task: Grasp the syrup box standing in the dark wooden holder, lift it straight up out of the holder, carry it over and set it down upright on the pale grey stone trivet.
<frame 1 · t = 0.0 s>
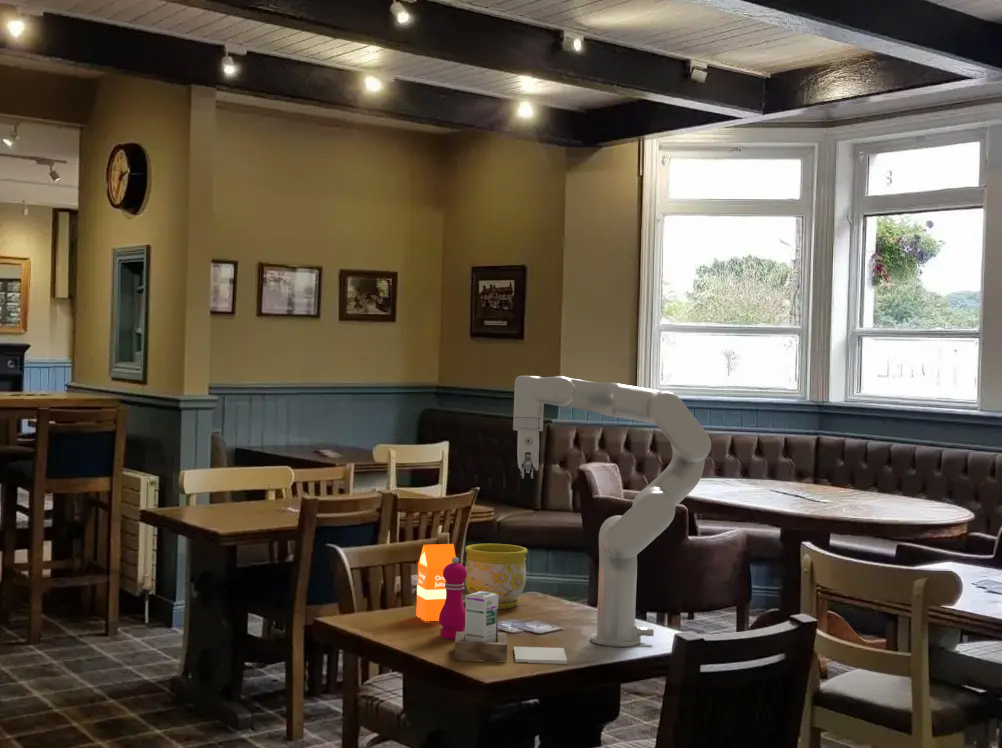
hand: (525, 492, 283), 37 cm above the table, tool pointing down, fingers open, 9 cm apart
flowerpot: (494, 605, 325), on the table
syrup box: (480, 655, 265), resting in holder
trivet: (539, 656, 265), on the table
holder: (480, 654, 265), on the table
pepper mill: (452, 637, 283), on the table
orange juice: (435, 619, 303), on the table
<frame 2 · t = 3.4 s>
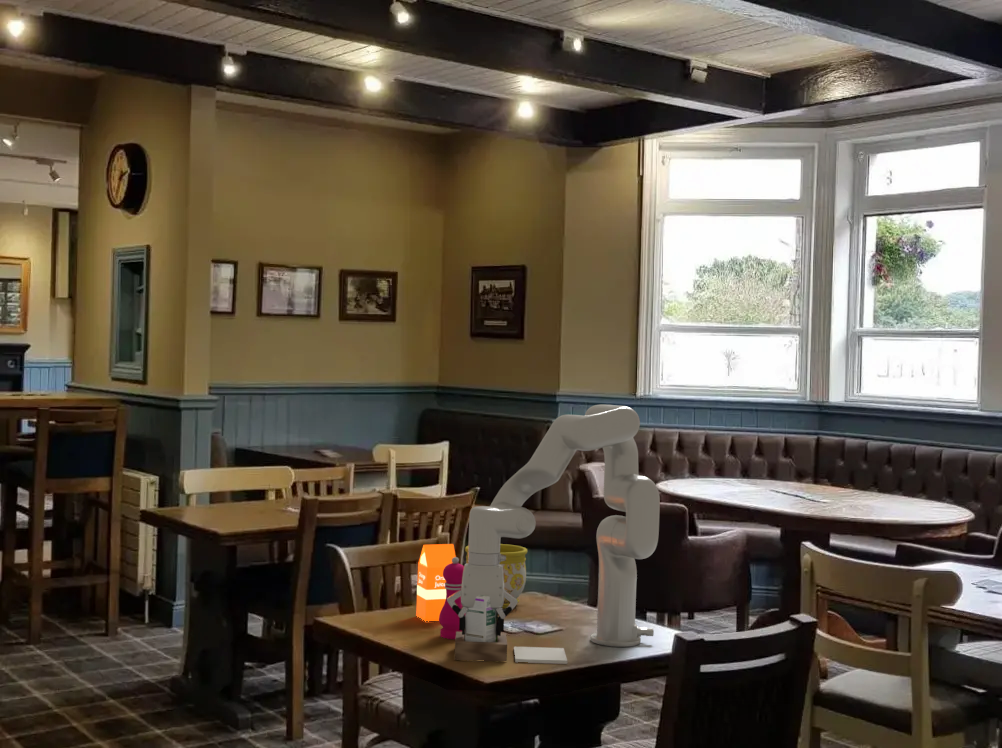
hand: (481, 633, 265), 5 cm above the table, tool pointing down, fingers closed on syrup box, 7 cm apart
syrup box: (480, 655, 265), resting in holder, touching gripper
everything else where it was.
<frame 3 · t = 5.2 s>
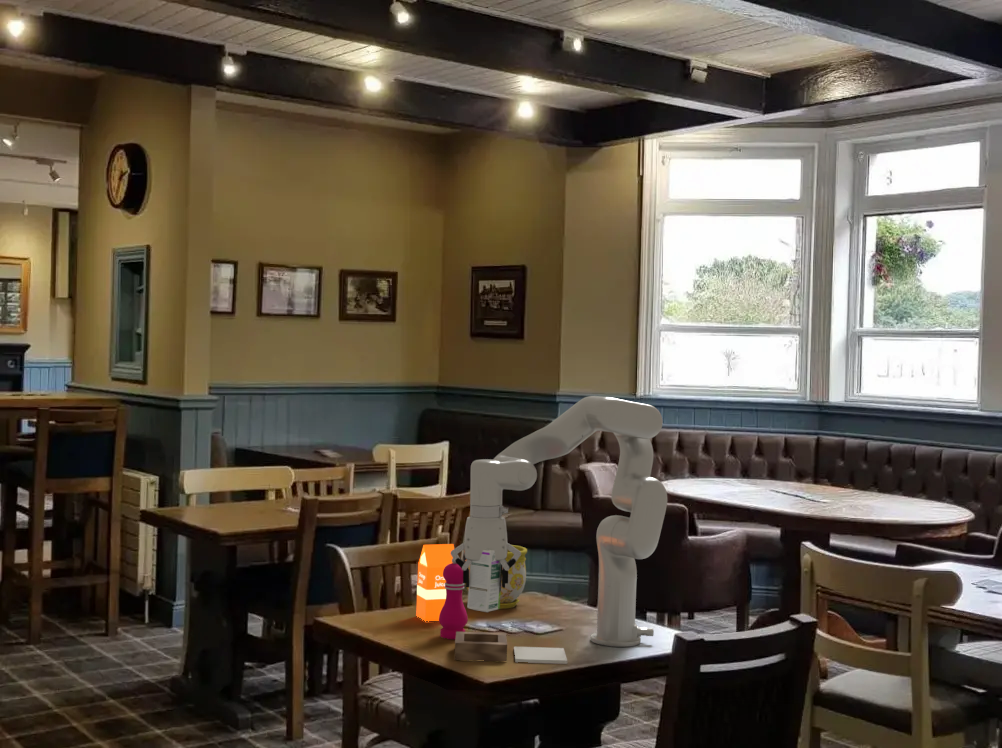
hand: (485, 586, 265), 16 cm above the table, tool pointing down, fingers closed on syrup box, 8 cm apart
syrup box: (482, 609, 265), point 11 cm above the table, touching gripper
everything else where it was.
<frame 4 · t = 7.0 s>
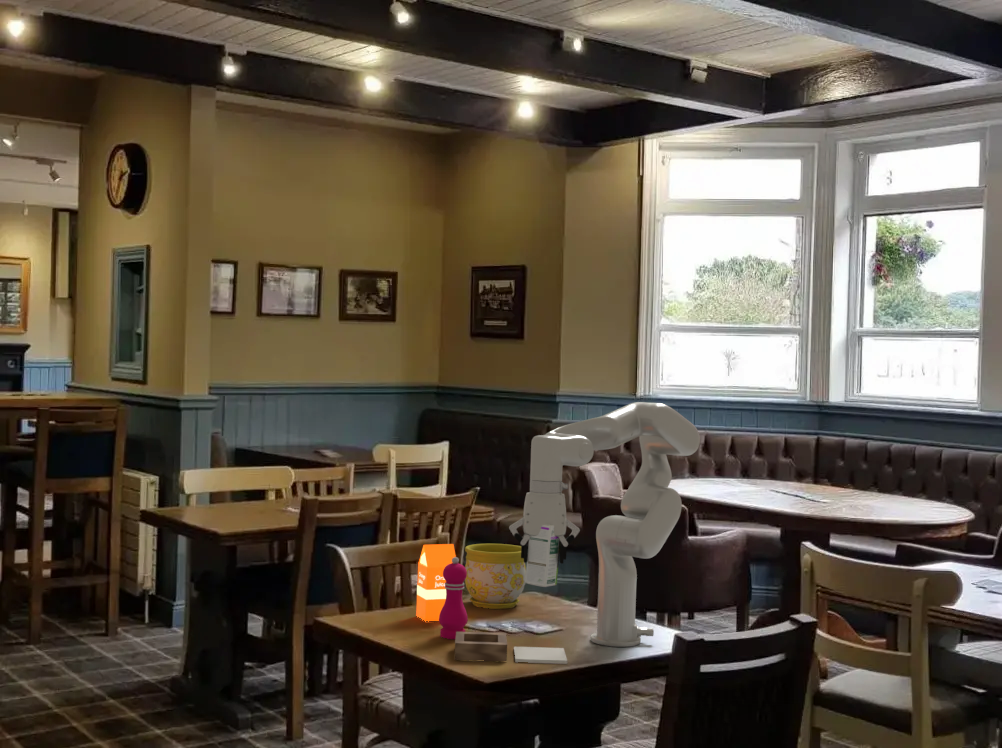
hand: (543, 561, 265), 22 cm above the table, tool pointing down, fingers closed on syrup box, 8 cm apart
syrup box: (540, 585, 265), point 17 cm above the table, touching gripper
everything else where it was.
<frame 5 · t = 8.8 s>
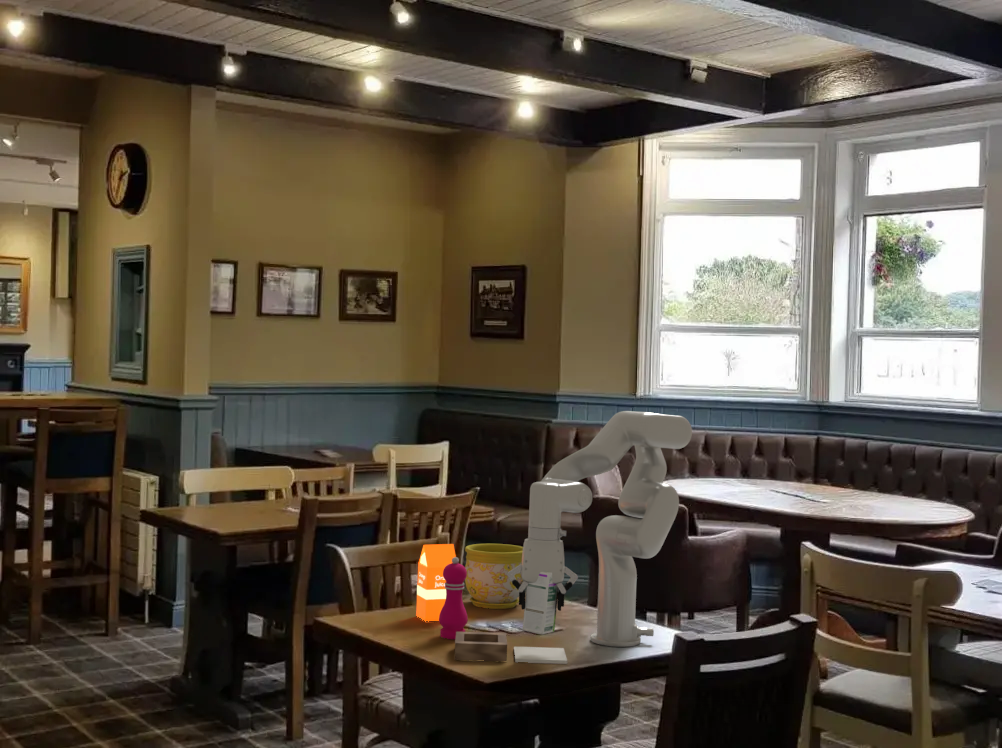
hand: (541, 608, 265), 11 cm above the table, tool pointing down, fingers closed on syrup box, 8 cm apart
syrup box: (537, 632, 265), point 6 cm above the table, touching gripper
everything else where it was.
when the fingers open (7 cm above the table, at t = 10.4 s): syrup box stays where it is, resting on trivet.
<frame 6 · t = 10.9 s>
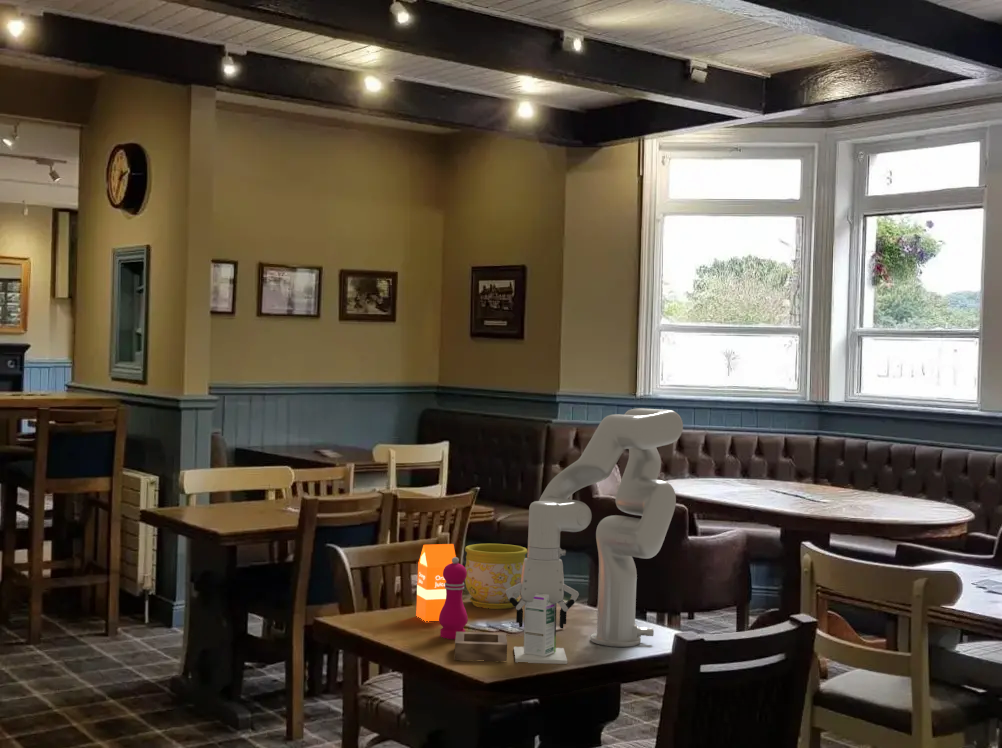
hand: (540, 626, 265), 7 cm above the table, tool pointing down, fingers open, 9 cm apart
syrup box: (539, 654, 265), point 1 cm above the table, touching trivet
everything else where it was.
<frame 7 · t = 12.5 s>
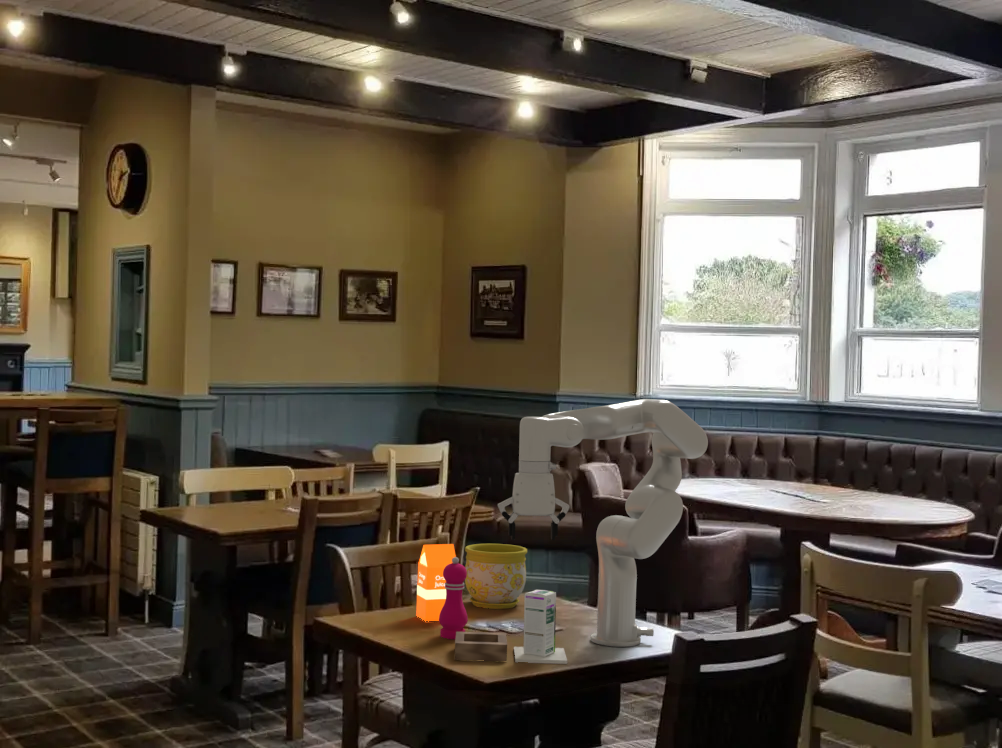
hand: (532, 539, 270), 27 cm above the table, tool pointing down, fingers open, 9 cm apart
nothing on the table moved.
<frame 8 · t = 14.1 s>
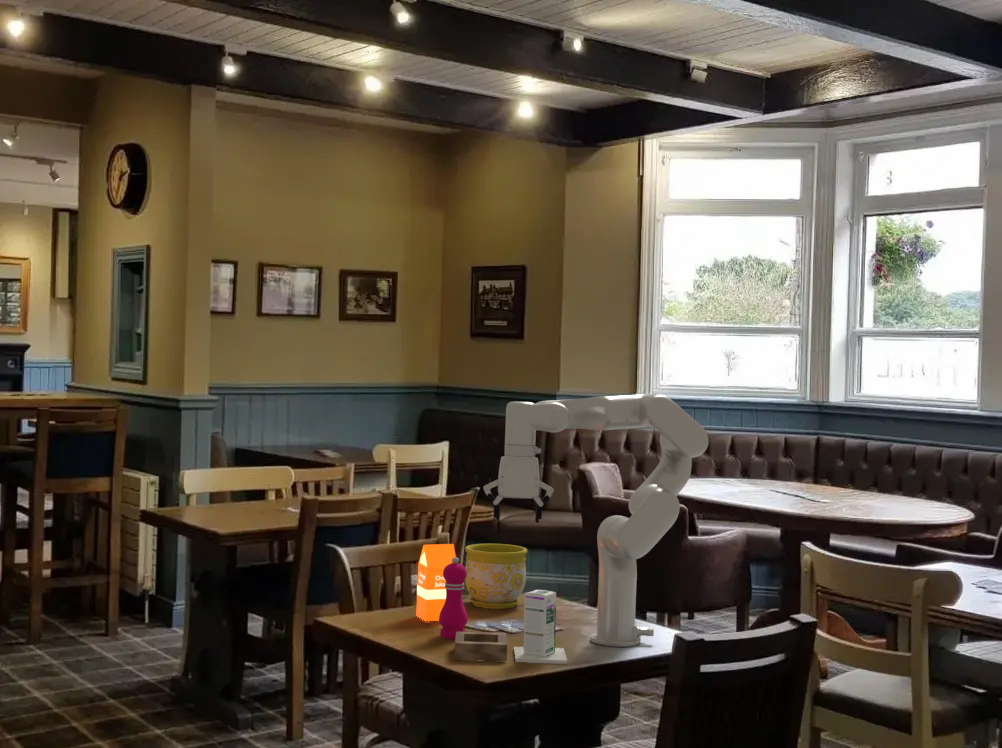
hand: (517, 521, 276), 30 cm above the table, tool pointing down, fingers open, 9 cm apart
nothing on the table moved.
at the end: syrup box inside the target area on the trivet (0.3 cm from its centre), point 0.6 cm above the trivet's base; syrup box tilted 0°; the gripper is holding nothing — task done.
